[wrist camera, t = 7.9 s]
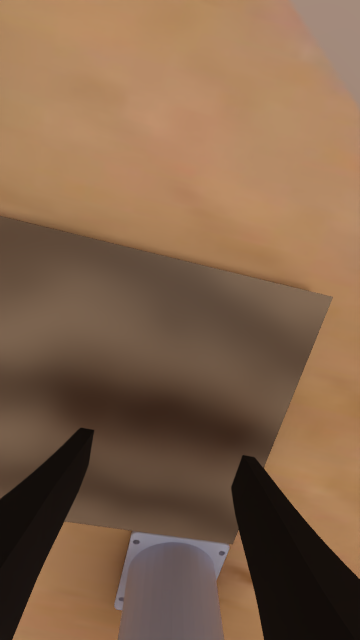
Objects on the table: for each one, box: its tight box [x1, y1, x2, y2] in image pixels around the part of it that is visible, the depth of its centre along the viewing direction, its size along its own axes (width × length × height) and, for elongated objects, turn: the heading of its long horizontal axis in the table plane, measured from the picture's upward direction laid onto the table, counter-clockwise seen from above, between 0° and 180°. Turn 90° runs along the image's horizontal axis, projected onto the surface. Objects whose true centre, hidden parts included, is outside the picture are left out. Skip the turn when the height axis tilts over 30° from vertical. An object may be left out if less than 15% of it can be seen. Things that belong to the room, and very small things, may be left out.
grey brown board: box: [0, 216, 333, 544], centre depth 13 cm, size 18×28×2 cm, turn 77°
